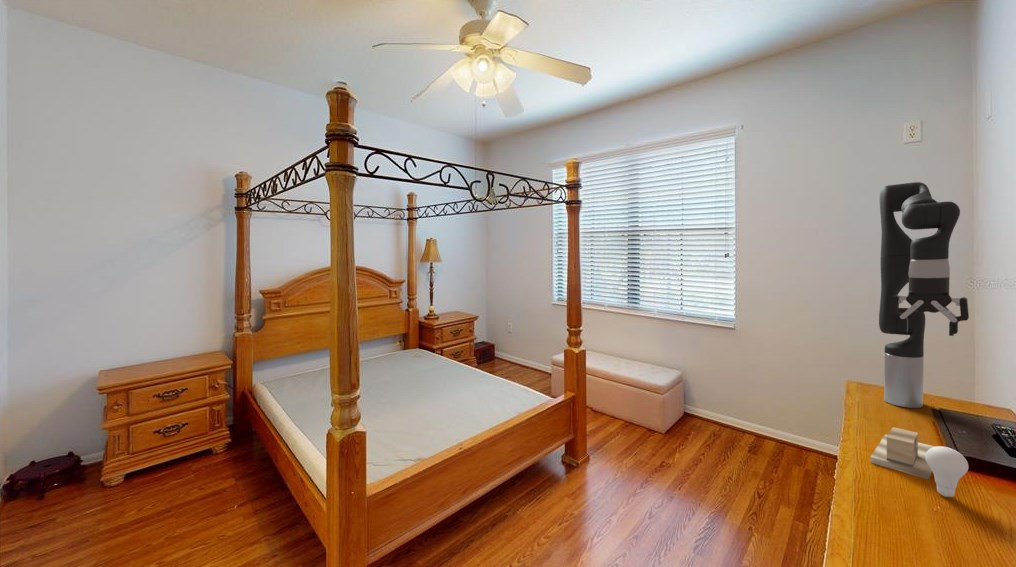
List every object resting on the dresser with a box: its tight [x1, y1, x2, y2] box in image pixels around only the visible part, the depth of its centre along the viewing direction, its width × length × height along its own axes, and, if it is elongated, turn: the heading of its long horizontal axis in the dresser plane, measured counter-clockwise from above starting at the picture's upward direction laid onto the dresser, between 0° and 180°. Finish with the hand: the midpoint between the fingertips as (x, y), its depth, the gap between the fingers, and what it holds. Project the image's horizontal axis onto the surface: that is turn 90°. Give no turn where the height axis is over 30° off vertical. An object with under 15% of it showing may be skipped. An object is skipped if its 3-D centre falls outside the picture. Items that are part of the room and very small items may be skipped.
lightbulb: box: [925, 445, 969, 498], centre depth 82 cm, size 6×6×11 cm
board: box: [870, 434, 936, 480], centre depth 97 cm, size 18×10×2 cm, turn 126°
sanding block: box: [887, 426, 919, 467], centre depth 95 cm, size 8×4×6 cm, turn 126°
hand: (927, 333), depth 105 cm, fingers open, 8 cm apart
